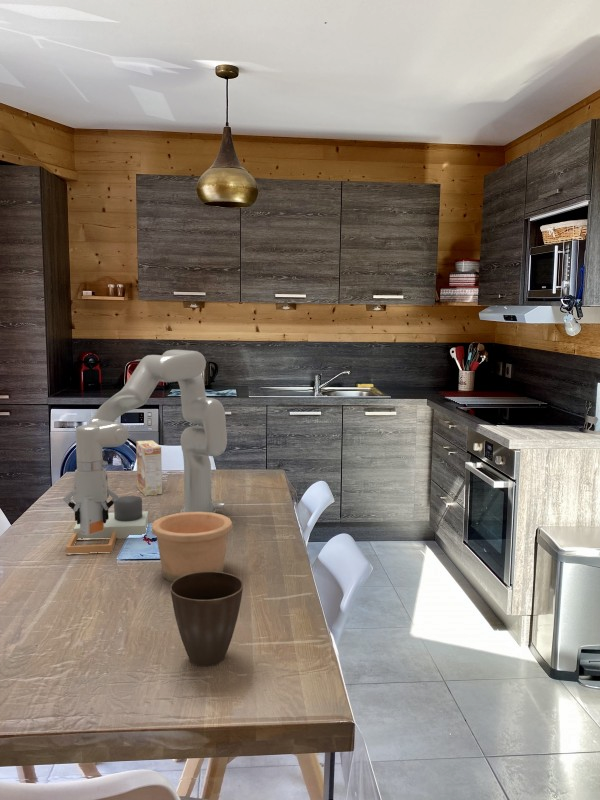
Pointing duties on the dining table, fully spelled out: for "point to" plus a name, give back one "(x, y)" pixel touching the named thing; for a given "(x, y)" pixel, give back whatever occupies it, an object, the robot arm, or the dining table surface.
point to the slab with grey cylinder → (114, 526)
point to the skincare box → (91, 517)
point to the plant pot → (206, 613)
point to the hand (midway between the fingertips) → (92, 521)
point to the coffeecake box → (149, 467)
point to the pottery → (191, 542)
